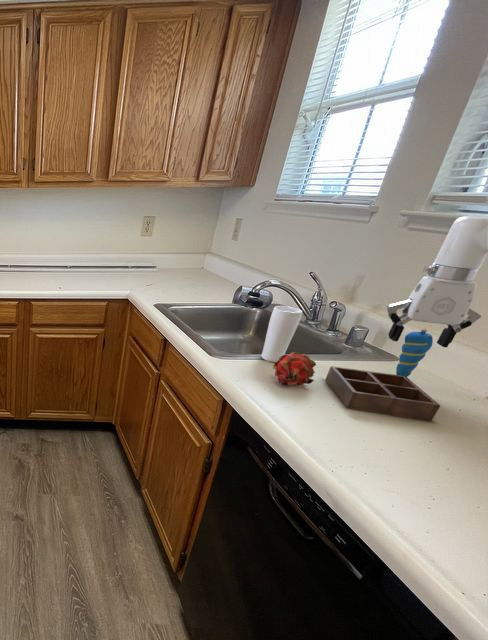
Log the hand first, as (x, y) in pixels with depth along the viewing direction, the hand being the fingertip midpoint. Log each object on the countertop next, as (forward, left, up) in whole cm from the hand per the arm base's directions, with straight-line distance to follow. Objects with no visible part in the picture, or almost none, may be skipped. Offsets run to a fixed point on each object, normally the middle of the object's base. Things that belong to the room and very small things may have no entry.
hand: (416, 342), depth 104 cm
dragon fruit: (+27, +12, -11) cm, 32 cm away
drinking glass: (+28, -4, -11) cm, 30 cm away
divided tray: (+10, +14, -11) cm, 20 cm away
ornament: (0, 0, -11) cm, 11 cm away
